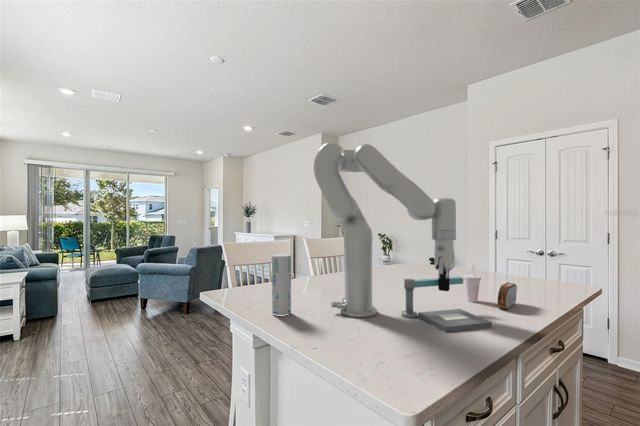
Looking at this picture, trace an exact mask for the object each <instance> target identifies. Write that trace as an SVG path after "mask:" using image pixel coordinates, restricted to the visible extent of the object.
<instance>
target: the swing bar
mask: <svg viewBox="0 0 640 426" xmlns="http://www.w3.org/2000/svg"><path fill="white" fill-rule="evenodd" d="M438 278H439V277H437V278H435V277H434V278H423V279H414V278H404V280H403V282H404V286H403V287H404V290H406V289H407V290H413V291H414V290H415V288H426V287H427V288H429V287H438ZM461 284H462V285H463V284H464V279H463V276H461V277H460V276H451V277H450V276H449V285H461Z"/></svg>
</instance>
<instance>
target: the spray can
mask: <svg viewBox="0 0 640 426" xmlns="http://www.w3.org/2000/svg"><path fill="white" fill-rule="evenodd" d="M271 279H272V281H271V284H272V285H271V286H272V289H271V290H272V291H271V292H272V293H271V294H272V296H271V297H272V299H271V300H272V301H271V302H272V303H271V305H272V308H271V309H272V315H273V314H276V315H286V314H289V313H292V312H291V311H292V255H291V254H287V253H281V254H280V253H279V254H278V253H277V254H272V255H271Z"/></svg>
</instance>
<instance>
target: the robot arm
mask: <svg viewBox="0 0 640 426" xmlns="http://www.w3.org/2000/svg"><path fill="white" fill-rule="evenodd" d="M313 160H314V161H313V173H314V176H315V177H314V178H315V180H316V183H317V185H318V187H319V189H320V191H321V194H322V195H323V198H324V199H325V201H326V203H327V205H328V207H329V209H330V212H331V215H332V216H333V217H334V218H335V219H336V221H337V222H338V224H339V225H340V226H339V227H341V230H342V231H343V252H344V255H343V256H344V258H343V259H344V267H343V268H344V297H341V300H339V301H331V302H330V305H331V308H337V310H338V309H339V310H340V311H339V312H340V313H341V314H342V315H344V316H346V315H347V317H351V318H369V317H374V316H375V315H376V314H377V313H378V308H376V306H373V232H372V231H373V230H372V228H371V227H370V225H369V223H368V222H367V220H366V218H365V216H364V214H363V212H362V210H361V208H360V206H359V205H358V203H357V201H356V199H355V198H354V197H353V195H352V194H351V193H350V191H349V189H348V188H347V186H346V184H345V182H344V179H343V177H342V176H341V174H340V172H341V173H343V172H344V173H345V172H346V173H364V174H365V175H366V176H367V177H369V179H370V180H372V181H373V183H375V184H376V185H377V186H378V187H379V188H380V190H382V191H384V192H385V193H387V194H389V195H391V196H392V197H393V198H395V199H396V200H398V201H399V202H400V203H401V204H402V205H403V206H404V207H405V208H406V210H407V214H408V216H409V217H410V218H411V219H413V220H415V221H416V220H417V221H427V220H431V240H432V241H434V255H433V256H434V260H433V261H434V269H435V270H436V271H437V272H438V274H437V275H438V277H437V278H438V286H437V287H438V290H439V291H442V292H449V291H450V290H451V288H450V285H449V277H450V272H451V271H452V270H453V269H454V268H455V267H456V266H455V265H456V263H455V261H456V260H455V246H454V245H455V244H454V241H456V240H457V203H456V200H455V199H453V198H447V197H446V198H444V197H443V198H435V199H432V198H431V196H429V195H428V194H427V193H426V192H425V191H424V189H422V188H421V187H419V185H417V184H416V183H415V182H414V181H412V180H411V179H410V178H409V177H408V176H406V175H405V174H404V173H402V172H401V171H400V170H399V169H398V168H397V167H396V166H394V164H392V163H391V161H389V160H388V159H387V158H386V157H385V156H384V155H383V154H382V153H381V152H380V151H379V150H378V149H377V148H376V147H375V146H374V145H371V144H369V143H363V144H360V145H359V146H357V148H356V149H344V148H343V147H342V146H341V145H340V144H339V143H337V142H333V141H329V142H326V143H324V144H323V145H321V147H320V148H319V150H318V151H317V153H316V155H315V157H314V159H313Z"/></svg>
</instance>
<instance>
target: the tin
mask: <svg viewBox="0 0 640 426" xmlns="http://www.w3.org/2000/svg"><path fill="white" fill-rule="evenodd" d="M517 290H518V287H517V284H516V283H512V282H506V283H504V284H501V285H500V287H499V290H498V294H497V307H498V309H502V310H509V309H511V308H512V307H513V306H515V304H516V301H517Z"/></svg>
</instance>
